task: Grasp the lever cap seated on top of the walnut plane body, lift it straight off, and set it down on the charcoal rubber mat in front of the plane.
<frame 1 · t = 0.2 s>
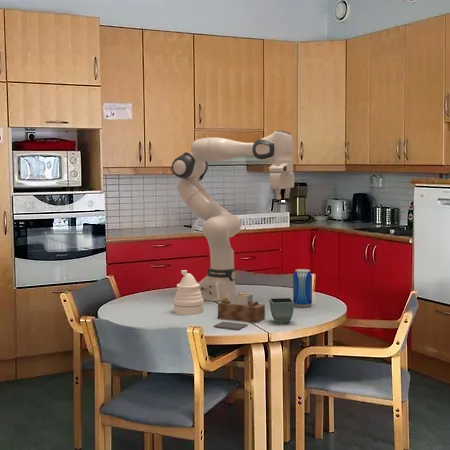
hand: (282, 198, 305), 47 cm above the table, fingers open, 8 cm apart
beer can: (302, 306, 306), on the table
flower pot: (281, 322, 275), on the table
plane body: (241, 318, 282), on the table
lever cap: (241, 304, 281), point 6 cm above the table, touching plane body
mat: (230, 326, 268), on the table
honey pot: (188, 312, 295), on the table
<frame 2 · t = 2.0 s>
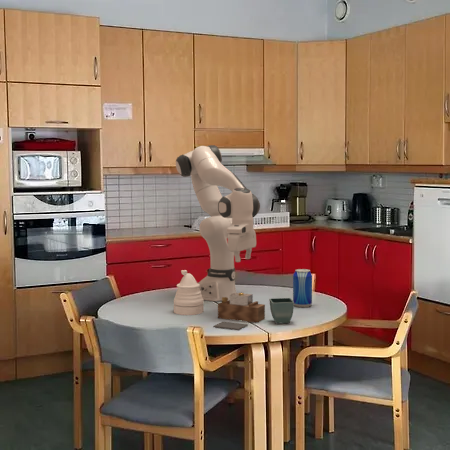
hand: (243, 260, 285), 23 cm above the table, fingers open, 8 cm apart
nothing on the table moved.
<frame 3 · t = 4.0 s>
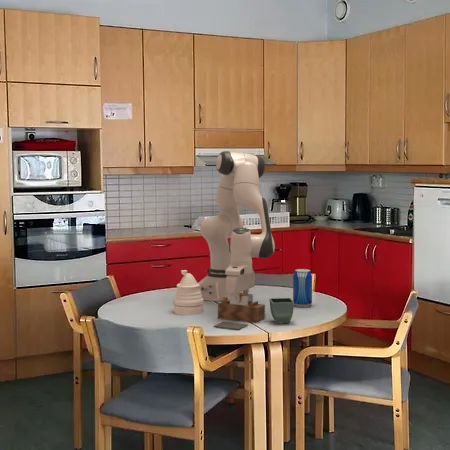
hand: (241, 301, 281), 7 cm above the table, fingers closed on lever cap, 5 cm apart
lever cap: (241, 304, 281), point 6 cm above the table, touching gripper, plane body
everything else where it was.
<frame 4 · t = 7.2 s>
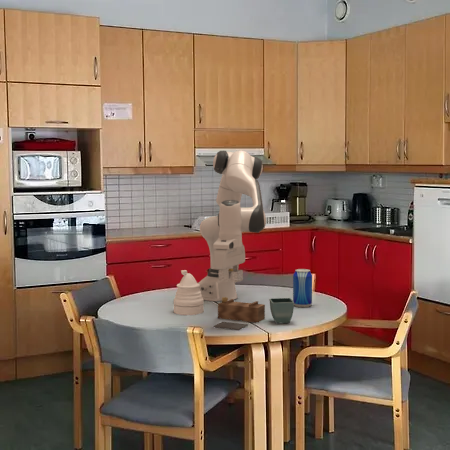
hand: (230, 277, 267), 19 cm above the table, fingers closed on lever cap, 5 cm apart
lever cap: (230, 280, 267), point 18 cm above the table, touching gripper
everything else where it was.
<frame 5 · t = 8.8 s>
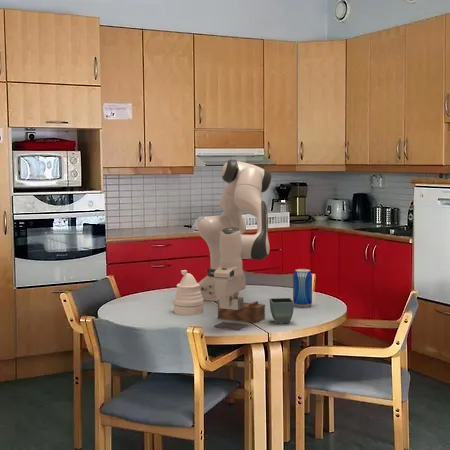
hand: (231, 304, 268), 9 cm above the table, fingers closed on lever cap, 5 cm apart
lever cap: (231, 307, 268), point 7 cm above the table, touching gripper
everything else where it was.
when the fingers open (4 cm above the table, at t = 10.3 s): lever cap drops 2 cm, resting on mat.
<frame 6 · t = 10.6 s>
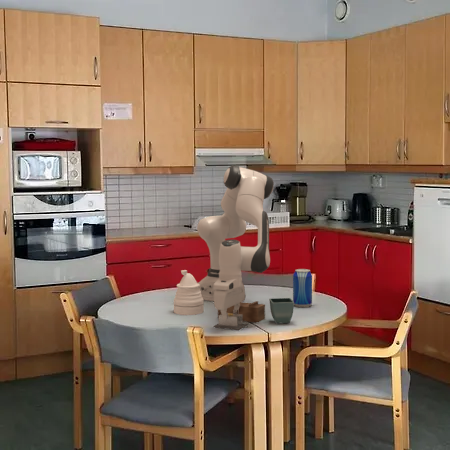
hand: (230, 316, 268), 4 cm above the table, fingers open, 8 cm apart
lever cap: (230, 325, 268), point 1 cm above the table, touching mat
everything else where it was.
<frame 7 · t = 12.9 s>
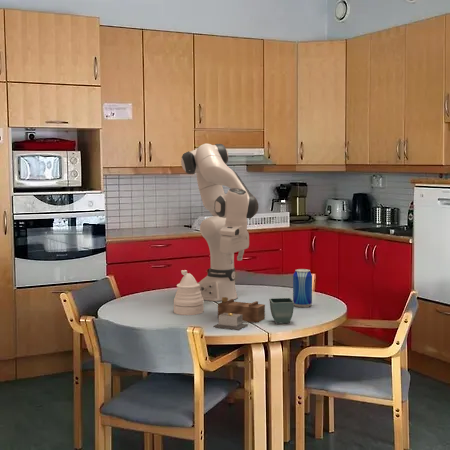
hand: (234, 262, 281), 23 cm above the table, fingers open, 8 cm apart
nothing on the table moved.
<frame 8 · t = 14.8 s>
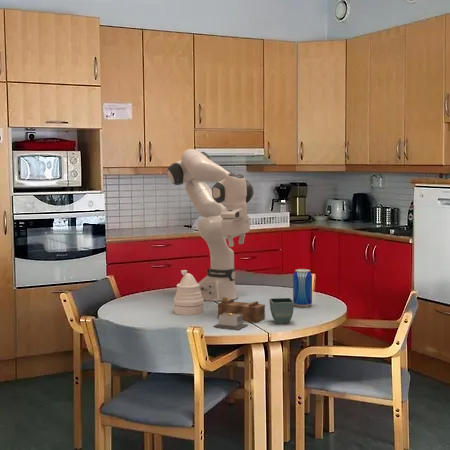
hand: (236, 245, 289), 29 cm above the table, fingers open, 8 cm apart
nothing on the table moved.
at the end: lever cap inside the target area on the mat (0.1 cm from its centre), point 0.6 cm above the mat's base; lever cap touching mat; the gripper is holding nothing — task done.
